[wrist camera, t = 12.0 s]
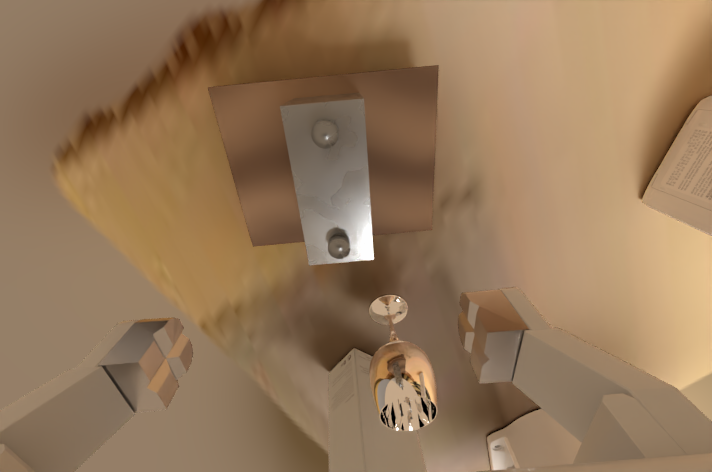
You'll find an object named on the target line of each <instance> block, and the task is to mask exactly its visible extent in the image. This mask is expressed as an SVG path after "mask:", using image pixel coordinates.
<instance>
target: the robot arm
mask: <svg viewBox="0 0 712 472" xmlns="http://www.w3.org/2000/svg"><path fill="white" fill-rule="evenodd" d="M460 306H461V308H462V310H463V311H462V313H461V314H460V315H459V316H458V329H459V336H460V339H461V342H462V345H463V347H464V349H465V350H466V351H468V352H469V353H471V358H470V363H471V366H472V368H473V370H474V372H475V375H476V377H477V379H478V381H479V384H480V383H498V382H512V384H513V385H515V386H516V387H517V388H518V389H519V390H520V391H522V392H523V393H524V394H525V395H526V396H527V397H529V398H530V399H531V400H532V401H533V402H534V403H536V404H537V405H538V406H539V407H540V408H541V409H539V410H536V411H533V412H531V413H528V414H526V415H524V416H522V417H520V418H519V419H517V420H515V421H514V422H513V423H511V424H510V425H509V426H507V427H506V428H504V429H502V430H499V431H497V432H495V433H492V434H491V435H489V436H488V437H487V444H488V451H489V458H490V465H491V471H478V472H712V421H711V420H710V419H709V418H707V417H706V416H705V415H704V414H703V413H702V412H701V411H700V410H699V409H698V408H697V407H696V406H695V405H694V404H693V403H692V402H691V401H689V400H688V399H687V398H686V397H685V396H684V395H683V394H682V393H681V392H680V391H679V390H678V389H677V388H675V387H674V386H672V385H670V384H668V383H666V382H664V381H662V380H660V379H658V378H656V377H654V376H652V375H650V374H648V373H646V372H644V371H642V370H640V369H638V368H636V367H634V366H632V365H630V364H628V363H626V362H624V361H622V360H620V359H618V358H616V357H614V356H613V355H611V354H609V353H607V352H605V351H603V350H601V349H599V348H597V347H595V346H593V345H591V344H589V343H587V342H585V341H583V340H581V339H579V338H577V337H575V336H573V335H571V334H569V333H567V332H565V331H563V330H561V329H559V328H552V327H551V326H550V325H549V324H548V323H547V321H546V320H545V319H544V318H543V317H542V315H541V314H540V313H539V312H538V311H537V309H536V308H535V307H534V306H533V305H532V303H531V302H530V301H529V300H528V299H527V297H526V296H525V295H524V294H523V293H522V291H521V290H520V289H518V288H517V287H512V288H502V289H497V290H486V291H475V292H464V293H462V294H461V297H460ZM183 329H184V327H183V325H182V323H181V321H180V319H178V318H159V319H143V320H133V321H132V320H131V321H123V322H120V323H118V324H117V325H116V326H115V327H114V328H113V329H112V330H111V331H110V332H109V333H108V334H107V335H106V336H105V337H104V338H103V339H102V340H101V342H100V343H99V344H98V345H97V346H96V347H95V348H94V349H93V350H92V351H91V352H90V353H89V354H88V356H87V357H86V358H85V359H84V360H83V361H82V362H81V363H80V364H79V365H78V366H77V367H76V368H75V369H69V370H67V371H65V372H64V373H62V374H60V375H59V376H57V377H55V378H54V379H52V380H50V381H49V382H47V383H45V384H44V385H42V386H40V387H38V388H37V389H35V390H33V391H32V392H30V393H28V394H27V395H25V396H23V397H22V398H20V399H18V400H16V401H15V402H13V403H11V404H10V405H8V406H6V407H5V408H3V409H1V410H0V472H74V471H76V470H77V469H78V468H79V467H80V466H81V465H82V464H83V463H84V462H85V461H86V460H87V459H88V458H89V457H90V456H92V455H93V454H94V453H95V452H96V451H97V450H98V449H99V448H100V447H101V446H102V445H103V444H104V443H105V442H106V441H107V440H109V439H110V438H111V437H112V436H113V435H114V434H115V433H116V432H117V431H118V430H119V429H120V428H121V427H122V426H123V425H124V424H125V423H127V422H128V421H129V420H130V419H131V418H132V417H133V416H134V415H135V413H138V412H147V411H155V410H165V409H167V408H168V406H169V404H170V402H171V401H172V399H173V397H174V395H175V393H176V391H177V390H178V388H179V384H178V379H179V378H180V377H182V376H183V375H184V374H185V373H187V371H188V369H189V367H190V365H191V362H192V357H193V348H192V344H191V342H190V339H189V338H187V337H186V336H184V335H183V334H181V333H182V331H183Z"/></svg>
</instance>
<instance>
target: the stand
mask: <svg viewBox="0 0 712 472" xmlns="http://www.w3.org/2000/svg"><path fill="white" fill-rule="evenodd" d="M438 66H439V65H438ZM438 66H425V67H415V68H405V69H394V70H384V71H373V72H363V73H352V74H342V75H331V76H321V77H310V78H300V79H289V80H279V81H268V82H258V83H247V84H237V85H226V86H216V87H208V90H209V94H210V97H211V101H212V104H213V108H214V111H215V115H216V118H217V122H218V126H219V129H220V133H221V136H222V140H223V143H224V147H225V150H226V154H227V157H228V161H229V164H230V168H231V171H232V175H233V178H234V182H235V185H236V189H237V192H238V196H239V199H240V203H241V206H242V210H243V213H244V217H245V220H246V224H247V227H248V231H249V234H250V238H251V241H252V245H253V246H263V245H274V244H285V243H295V242H305V240H304V234H303V229H302V224H301V218H300V213H299V207H298V202H297V197H296V191H295V186H294V180H293V175H292V170H291V164H290V159H289V153H288V148H287V143H286V137H285V132H284V126H283V121H282V116H281V110H280V106H281V105H283V104H285V103H286V102H288V101H290V100H292V99H294V98H305V97H316V96H326V95H337V94H348V93H360V94H361V95H362V97H363V98H364V107H365V123H366V139H367V155H368V171H369V188H370V204H371V220H372V235H382V234H393V233H404V232H415V231H426V230H432V216H433V191H434V166H435V141H436V116H437V91H438Z"/></svg>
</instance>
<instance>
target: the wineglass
mask: <svg viewBox="0 0 712 472" xmlns="http://www.w3.org/2000/svg"><path fill="white" fill-rule="evenodd" d="M407 312H408V305H407V303H406V301H405V300H404V299H403V298H401V297H399V296H397V295H383V296H380V297H378V298H377V299H375V300H374V301H373V302H372V303H371V305H370V307H369V314H370V317H371V318H372V320H374V321H375V322H376V323H379V324H382V325H389V327H390V340H389V343H387V344H385V345H383V346H381V347H380V348H379V349H378V350H377V351H376V352H375V354H374V355H373V357H372V359H371V362H370V366H369V384H370V390H371V394H372V398H373V401H374V404H375V408H376V411H377V413H378V415H379V418H380V420H381V422H382V423H383V425H385V426H386V427H388V428H390V429H393V430H397V431H412V430H417V429H420V428H423V427H425V426H427V425H428V424H430V423H431V422H432V421H433V420H434V419H435V417H436V416H437V412H438V405H437V387H436V380H435V375H434V371H433V367H432V365H431V362H430V360H429V358H428V357H427V355H426V353H425V352H424V351H423V350H422V349H421V348H420V347H418V346H417V345H415V344H413V343H411V342H407V341H399V338H398V336H397V334H396V332H395V330H394V325H393V324H395V323H398V322H400V321H401V320H402V319H404V318H405V316H406V315H407Z"/></svg>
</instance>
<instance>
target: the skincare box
mask: <svg viewBox="0 0 712 472" xmlns="http://www.w3.org/2000/svg"><path fill="white" fill-rule="evenodd" d="M372 357H373V356H370V355H368V354H366V353H364V352H362V351H360V350H357V349H355V348H354V349H352V350H351V351H350V352H349V353H348V355H347V356H345V357H344V358H343V359H342V360H341V361H340V362H339V363H338V364H337V365H336V366H335V367H334V368H333V369H332V370H331V371H330V373H329V376H328V381H329V388H328V391H329V472H427V470H426V466H425V462H424V458H423V454H422V449H421V445H420V441H419V437H418V433H417V430H412V431H397V430H393V429H390V428H388V427H386V426H385V425H383V423H382V422H381V420H380V418H379V415H378V413H377V411H376V408H375V404H374V401H373V398H372V394H371V390H370V384H369V366H370V362H371V359H372Z"/></svg>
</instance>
